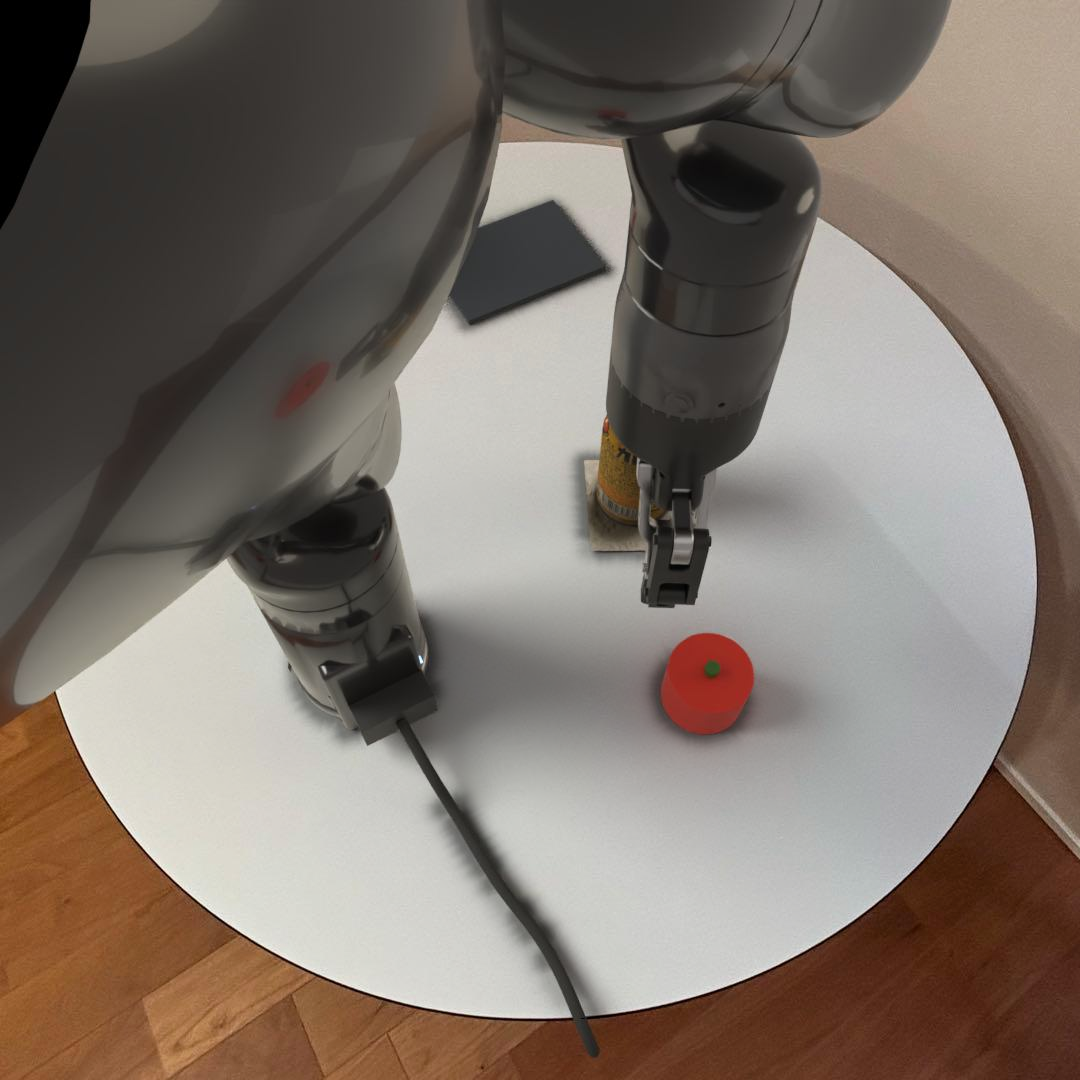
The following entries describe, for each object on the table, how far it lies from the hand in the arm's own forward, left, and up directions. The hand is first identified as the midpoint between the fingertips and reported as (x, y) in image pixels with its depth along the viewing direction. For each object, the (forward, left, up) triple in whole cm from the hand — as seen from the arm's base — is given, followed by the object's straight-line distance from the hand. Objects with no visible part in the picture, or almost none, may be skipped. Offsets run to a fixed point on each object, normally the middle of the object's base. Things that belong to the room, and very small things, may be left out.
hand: (657, 535), depth 58 cm
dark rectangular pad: (+38, -10, -16) cm, 43 cm away
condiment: (+10, -6, -16) cm, 20 cm away
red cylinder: (-6, -2, -16) cm, 17 cm away
